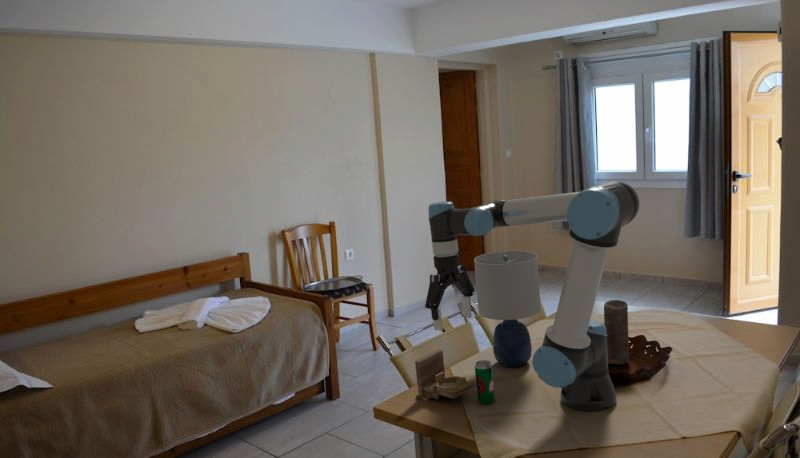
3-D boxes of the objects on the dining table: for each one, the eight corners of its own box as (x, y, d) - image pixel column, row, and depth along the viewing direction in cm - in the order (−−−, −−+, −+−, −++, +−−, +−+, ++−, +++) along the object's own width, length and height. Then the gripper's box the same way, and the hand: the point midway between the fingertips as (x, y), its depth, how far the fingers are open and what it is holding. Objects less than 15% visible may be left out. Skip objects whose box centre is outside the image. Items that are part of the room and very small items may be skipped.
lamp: (470, 366, 217) (461, 259, 212) (508, 348, 231) (500, 247, 225) (519, 379, 202) (510, 265, 197) (556, 359, 216) (549, 251, 210)
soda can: (494, 405, 186) (491, 365, 184) (477, 405, 187) (473, 366, 185) (495, 397, 191) (492, 359, 189) (478, 398, 192) (475, 359, 190)
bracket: (476, 395, 194) (472, 357, 192) (453, 409, 186) (449, 369, 185) (439, 385, 204) (435, 349, 202) (415, 398, 196) (412, 360, 195)
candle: (632, 360, 209) (629, 300, 206) (627, 368, 203) (624, 307, 199) (608, 357, 213) (605, 299, 210) (602, 365, 207) (599, 305, 204)
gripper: (462, 245, 203) (469, 310, 206) (407, 262, 185) (416, 334, 188) (481, 246, 197) (488, 313, 200) (427, 264, 180) (435, 337, 183)
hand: (453, 323), depth 194 cm, fingers open, 13 cm apart
